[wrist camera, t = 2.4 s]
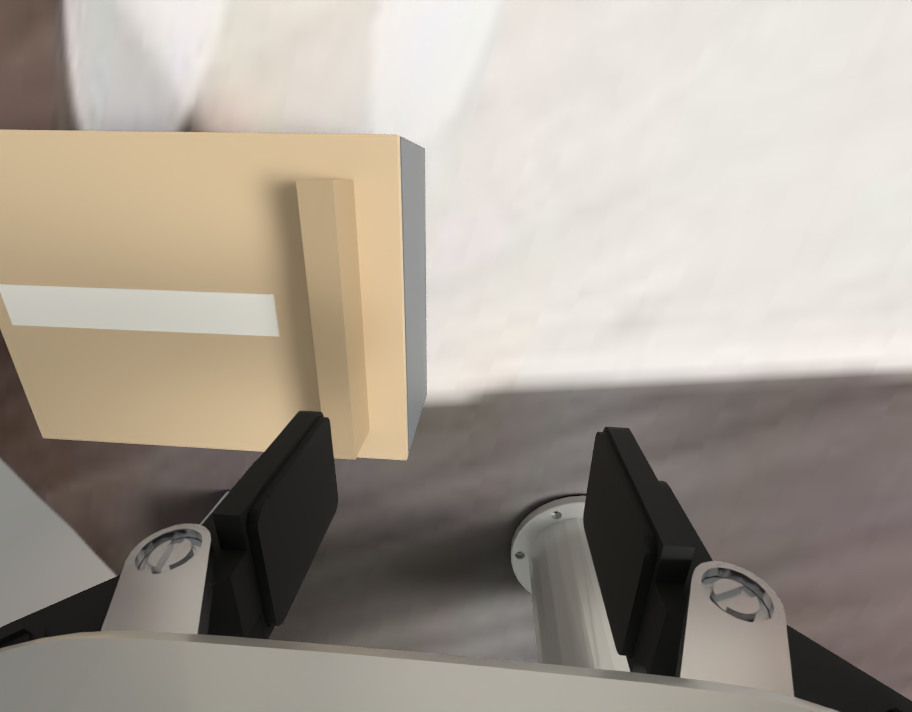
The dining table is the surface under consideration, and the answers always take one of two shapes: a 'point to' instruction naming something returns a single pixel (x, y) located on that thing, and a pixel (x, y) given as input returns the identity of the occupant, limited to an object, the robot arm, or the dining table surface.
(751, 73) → the dining table surface
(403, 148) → the box
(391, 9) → the dining table surface
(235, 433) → the lid
